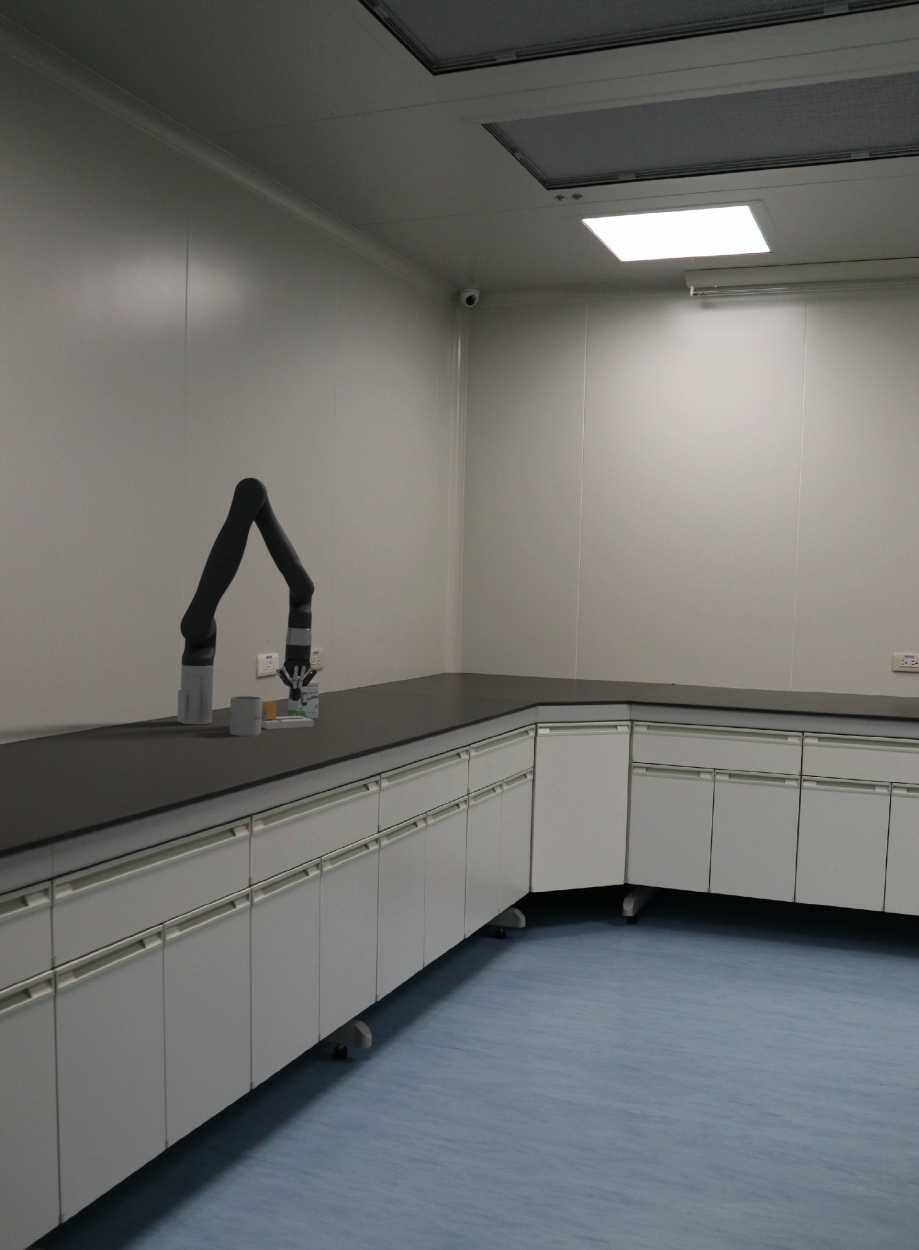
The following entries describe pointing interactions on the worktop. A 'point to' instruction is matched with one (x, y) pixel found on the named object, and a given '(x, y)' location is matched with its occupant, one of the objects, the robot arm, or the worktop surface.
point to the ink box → (306, 702)
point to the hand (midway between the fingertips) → (295, 700)
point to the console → (285, 722)
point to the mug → (245, 715)
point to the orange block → (269, 709)
